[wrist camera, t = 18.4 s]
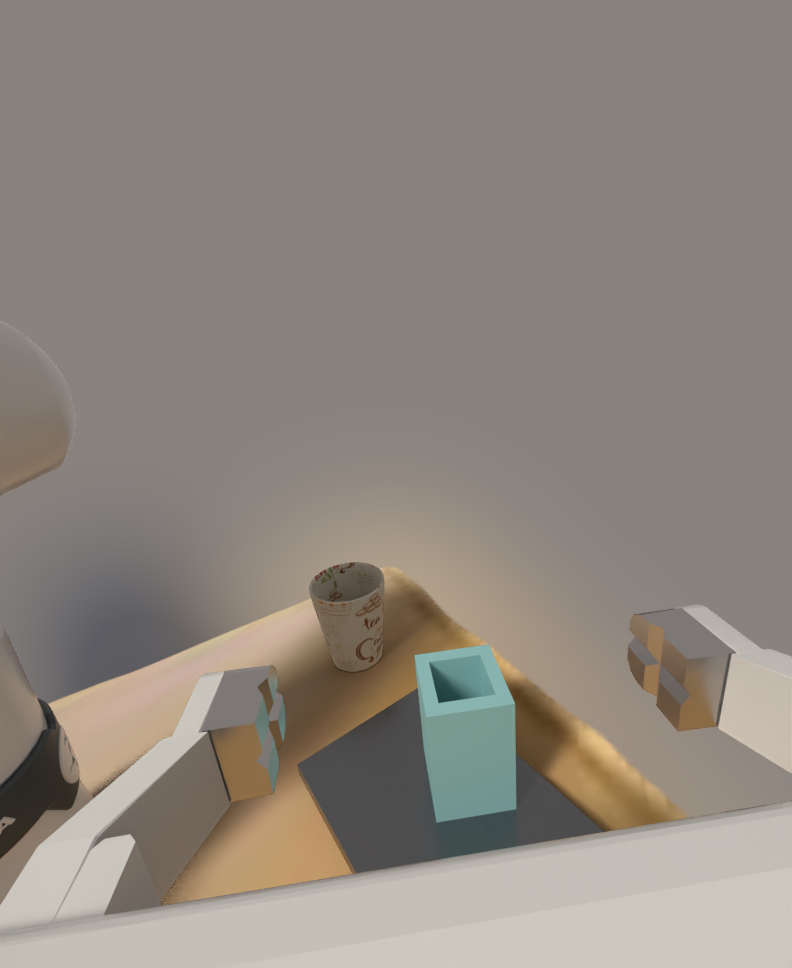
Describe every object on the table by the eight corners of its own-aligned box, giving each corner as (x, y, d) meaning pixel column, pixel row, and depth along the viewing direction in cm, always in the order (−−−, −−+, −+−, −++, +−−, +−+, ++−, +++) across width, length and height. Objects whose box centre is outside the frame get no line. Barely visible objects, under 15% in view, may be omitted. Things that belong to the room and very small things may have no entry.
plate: (457, 1069, 22) (449, 996, 20) (299, 774, 38) (286, 717, 36) (620, 858, 30) (627, 790, 28) (432, 688, 46) (428, 637, 43)
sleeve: (516, 809, 32) (515, 703, 29) (436, 822, 32) (426, 717, 29) (492, 739, 38) (488, 644, 35) (424, 749, 38) (414, 655, 34)
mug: (346, 692, 46) (333, 612, 43) (294, 637, 56) (280, 568, 53) (406, 654, 51) (398, 579, 48) (349, 609, 60) (339, 544, 57)
